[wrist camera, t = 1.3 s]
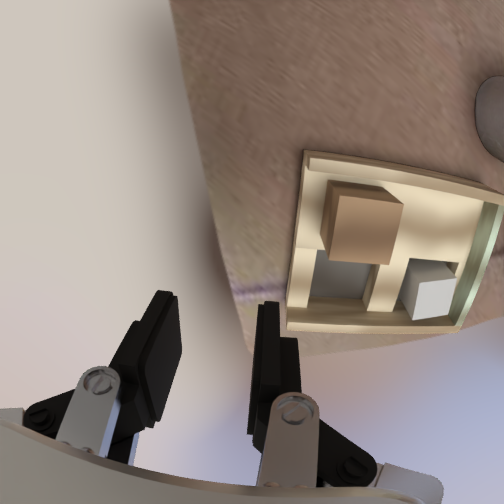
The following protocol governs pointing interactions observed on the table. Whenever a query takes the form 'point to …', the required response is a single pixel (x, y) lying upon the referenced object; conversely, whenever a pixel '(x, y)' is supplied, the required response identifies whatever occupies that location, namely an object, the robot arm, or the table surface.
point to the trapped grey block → (427, 288)
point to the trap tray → (406, 248)
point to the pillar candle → (491, 115)
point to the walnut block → (359, 222)
